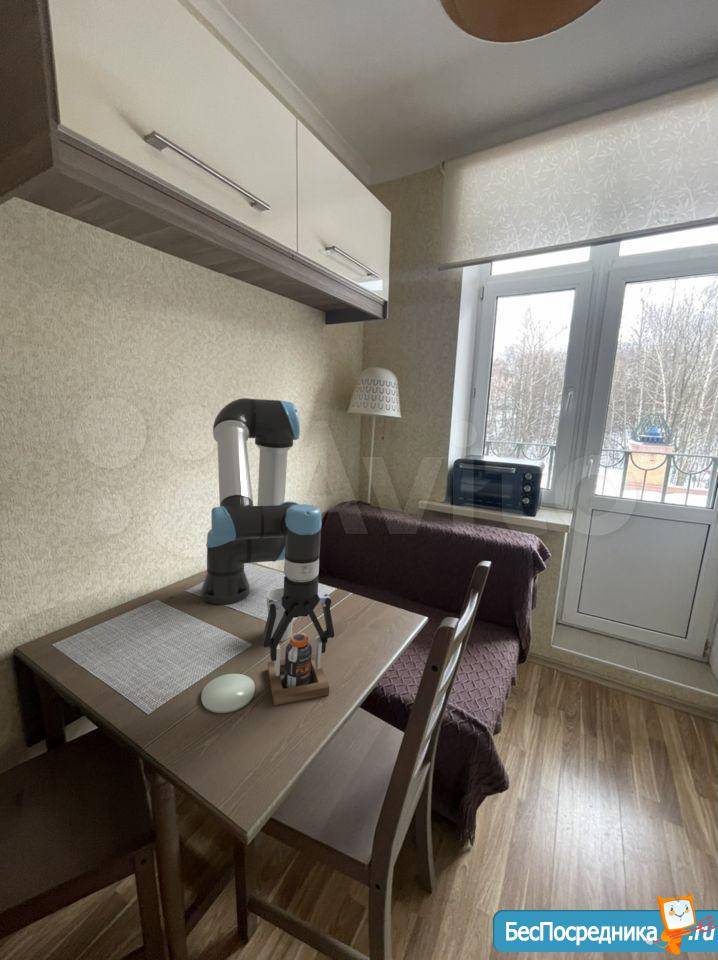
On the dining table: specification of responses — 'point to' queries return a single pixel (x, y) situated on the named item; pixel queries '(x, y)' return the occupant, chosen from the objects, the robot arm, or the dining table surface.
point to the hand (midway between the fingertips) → (297, 668)
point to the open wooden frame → (297, 692)
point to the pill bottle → (297, 661)
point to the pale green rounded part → (228, 693)
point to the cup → (279, 612)
